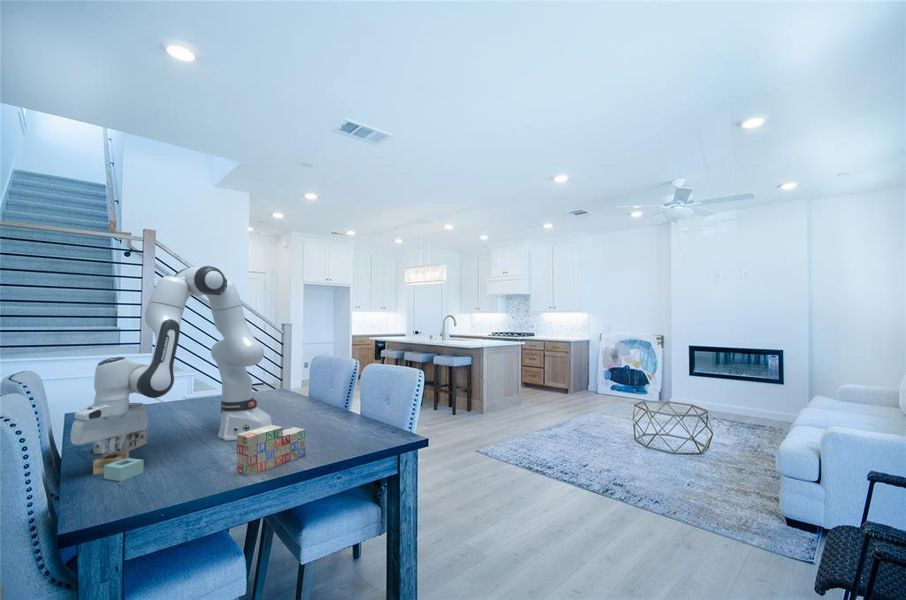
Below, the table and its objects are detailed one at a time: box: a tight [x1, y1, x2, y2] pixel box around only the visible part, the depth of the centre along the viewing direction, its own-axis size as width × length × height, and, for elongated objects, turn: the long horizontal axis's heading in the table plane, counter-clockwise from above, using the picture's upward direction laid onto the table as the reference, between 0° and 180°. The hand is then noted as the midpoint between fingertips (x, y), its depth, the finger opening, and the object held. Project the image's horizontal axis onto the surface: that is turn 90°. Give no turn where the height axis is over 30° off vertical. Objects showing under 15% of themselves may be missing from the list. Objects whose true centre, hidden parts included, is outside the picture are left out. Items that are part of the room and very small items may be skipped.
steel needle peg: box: [107, 437, 116, 459], centre depth 139 cm, size 2×2×13 cm
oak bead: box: [92, 452, 130, 475], centre depth 139 cm, size 7×7×4 cm
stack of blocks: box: [236, 424, 307, 477], centre depth 143 cm, size 21×6×12 cm, turn 146°
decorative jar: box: [92, 402, 148, 455], centre depth 158 cm, size 12×12×18 cm
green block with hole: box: [103, 457, 144, 482], centre depth 133 cm, size 7×7×4 cm
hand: (111, 450), depth 139 cm, fingers closed on steel needle peg, 2 cm apart
